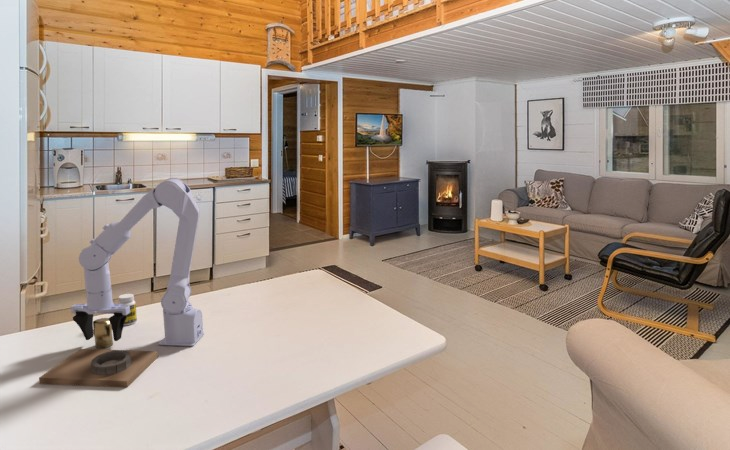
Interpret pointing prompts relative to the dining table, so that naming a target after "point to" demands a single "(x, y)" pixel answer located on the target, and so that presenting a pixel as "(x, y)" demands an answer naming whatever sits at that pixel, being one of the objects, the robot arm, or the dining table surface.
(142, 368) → the jig board
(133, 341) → the dining table surface
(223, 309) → the dining table surface
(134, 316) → the supplement bottle
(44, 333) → the dining table surface
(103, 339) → the cylinder
